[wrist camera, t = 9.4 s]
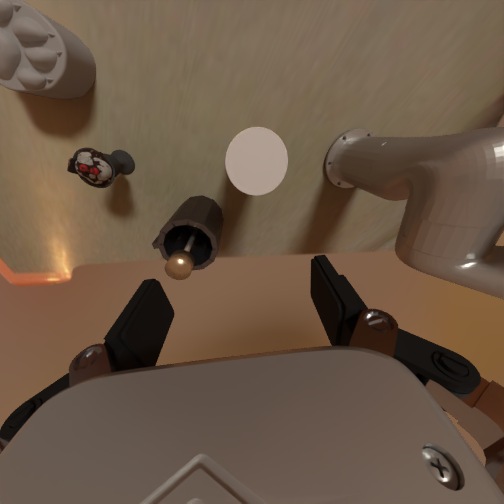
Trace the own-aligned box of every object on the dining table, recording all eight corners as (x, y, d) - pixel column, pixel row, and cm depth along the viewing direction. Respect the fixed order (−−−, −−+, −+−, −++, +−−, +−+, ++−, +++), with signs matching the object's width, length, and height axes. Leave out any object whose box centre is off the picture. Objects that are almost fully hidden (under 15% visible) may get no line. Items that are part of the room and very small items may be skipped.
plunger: (211, 203, 47) (195, 246, 29) (218, 231, 51) (207, 285, 33) (181, 207, 47) (144, 253, 29) (189, 235, 51) (162, 290, 33)
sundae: (144, 162, 44) (105, 173, 31) (129, 184, 46) (86, 202, 33) (116, 137, 41) (60, 138, 28) (101, 162, 43) (42, 173, 30)
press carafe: (218, 193, 48) (210, 216, 34) (226, 233, 54) (222, 266, 40) (165, 200, 48) (136, 226, 34) (179, 239, 54) (158, 274, 40)
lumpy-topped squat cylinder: (-2, 20, 32) (-75, -14, 24) (79, 16, 32) (31, -19, 25) (38, 100, 37) (-12, 91, 30) (107, 96, 37) (74, 86, 30)
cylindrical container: (250, 173, 46) (260, 206, 25) (225, 152, 44) (213, 169, 22) (270, 147, 44) (300, 158, 22) (244, 123, 41) (252, 109, 20)
